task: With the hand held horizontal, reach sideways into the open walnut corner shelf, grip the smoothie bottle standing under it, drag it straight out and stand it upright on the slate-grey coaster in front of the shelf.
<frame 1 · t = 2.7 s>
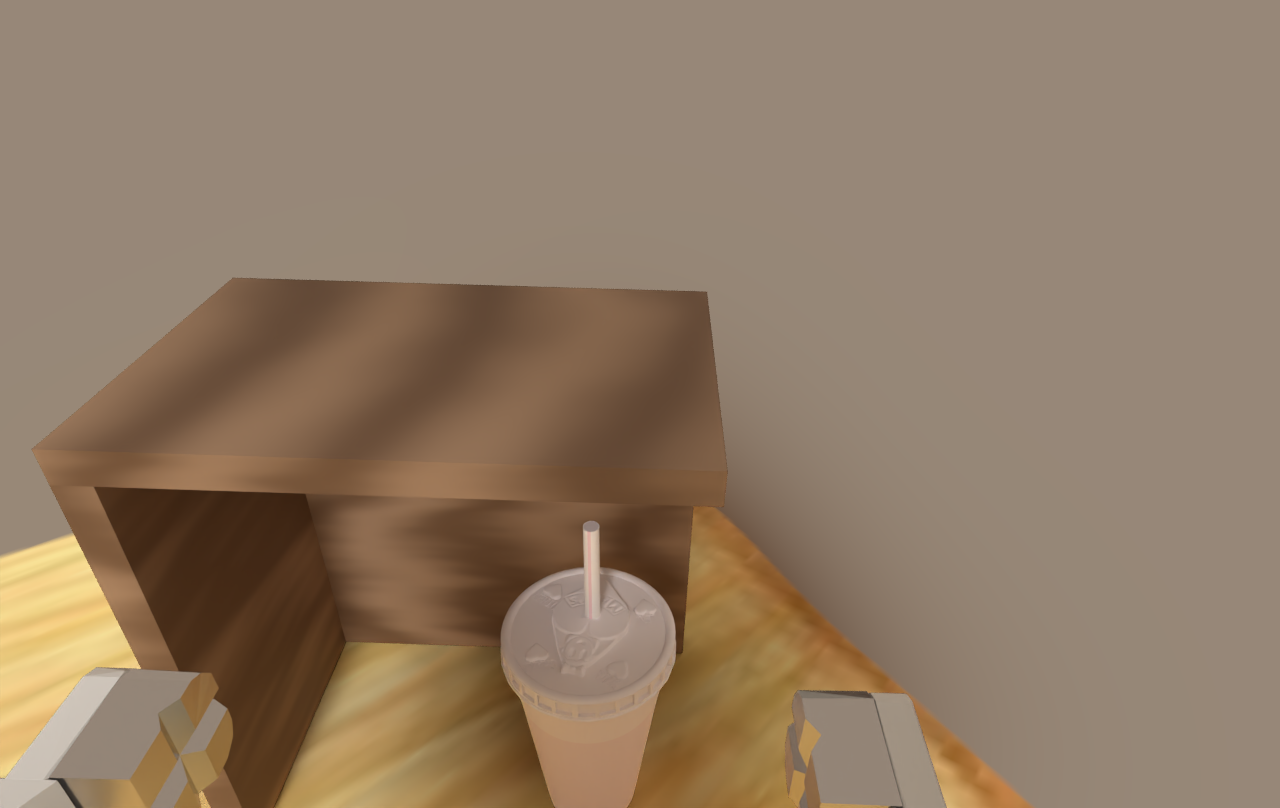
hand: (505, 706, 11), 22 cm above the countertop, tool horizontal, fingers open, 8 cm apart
shelf: (595, 740, 35), on the countertop
smoothie: (592, 785, 33), on the countertop
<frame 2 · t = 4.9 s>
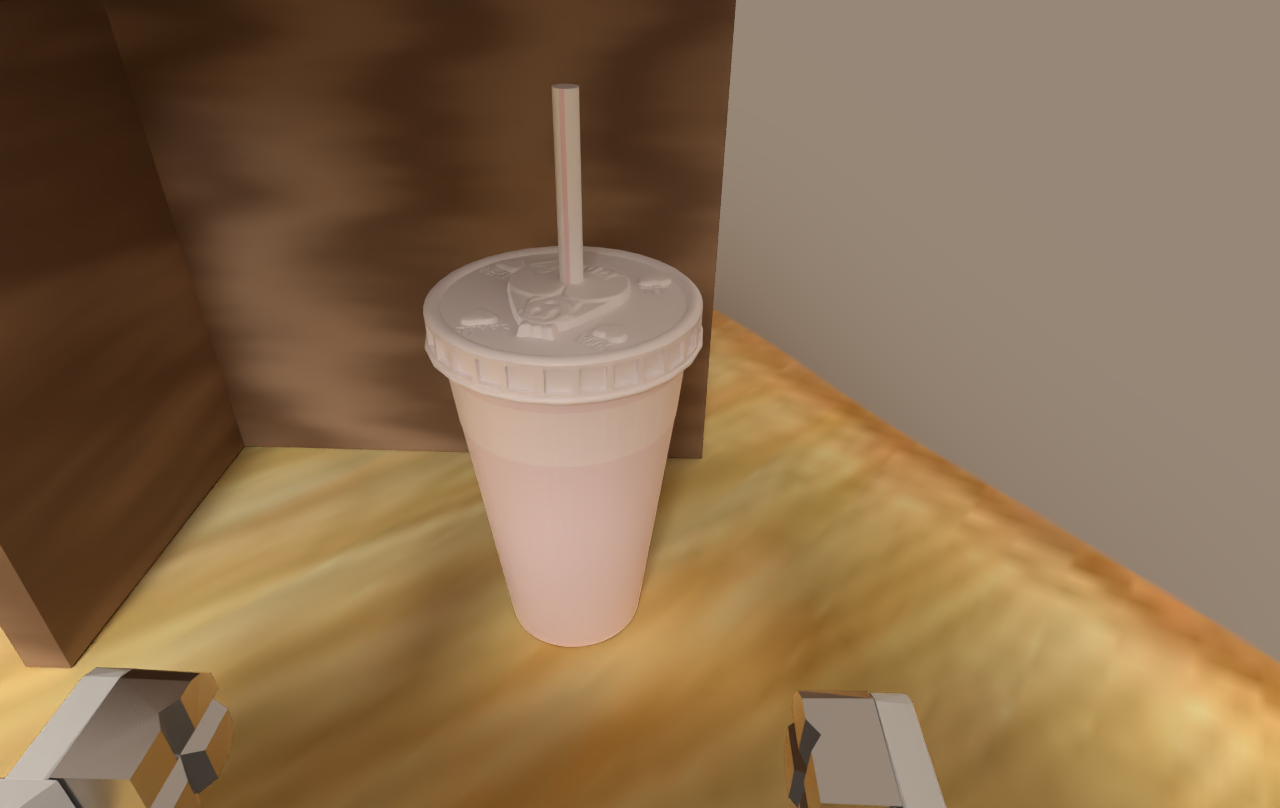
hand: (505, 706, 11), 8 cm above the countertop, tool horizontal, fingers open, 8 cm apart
shelf: (582, 549, 24), on the countertop
smoothie: (576, 601, 23), on the countertop
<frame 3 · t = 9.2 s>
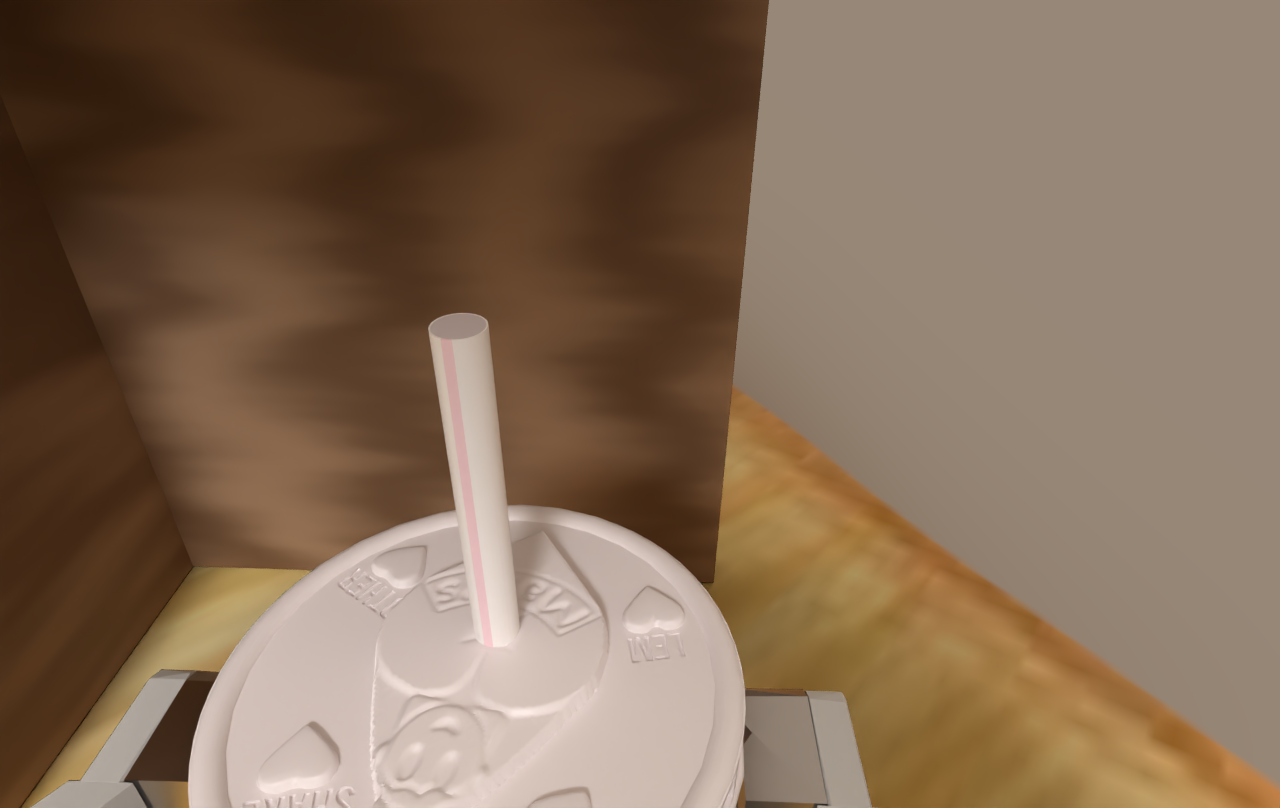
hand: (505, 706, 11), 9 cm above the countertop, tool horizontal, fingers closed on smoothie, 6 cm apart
shelf: (574, 714, 21), on the countertop
when the fingers open (9 cm above the countertop, at t = 11.5 s): smoothie stays where it is, resting on coaster.
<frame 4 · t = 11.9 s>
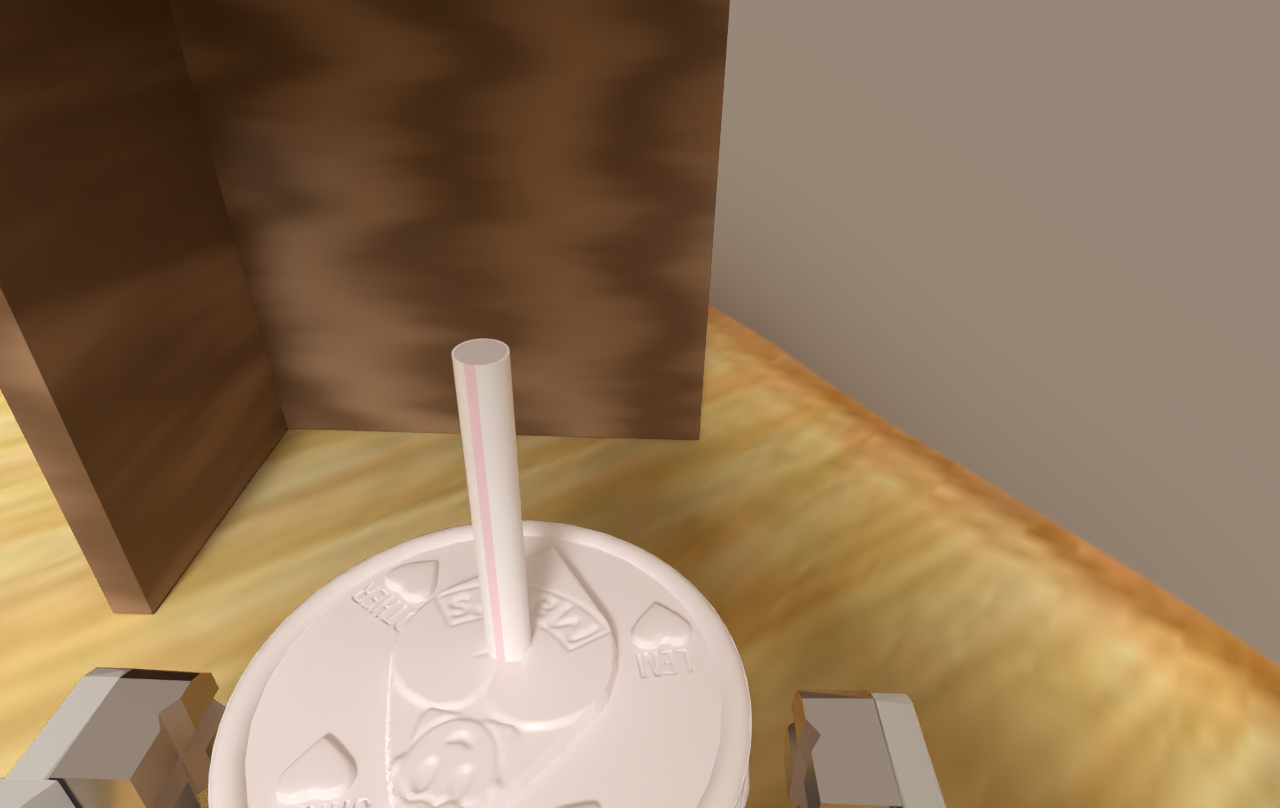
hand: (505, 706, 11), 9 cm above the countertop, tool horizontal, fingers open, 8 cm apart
shelf: (592, 517, 27), on the countertop
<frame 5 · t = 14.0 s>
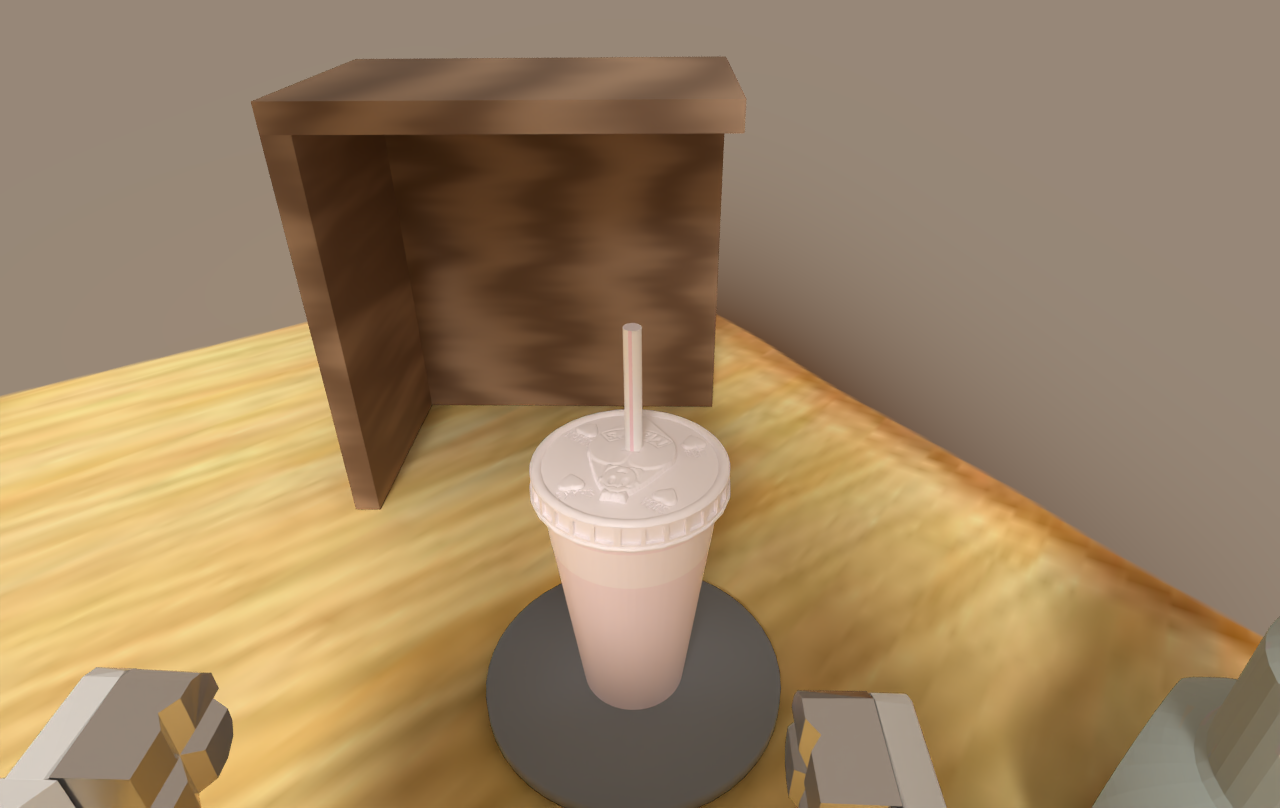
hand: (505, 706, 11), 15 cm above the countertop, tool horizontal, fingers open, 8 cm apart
shelf: (643, 453, 42), on the countertop
coaster: (633, 679, 29), on the countertop
smoothie: (633, 671, 29), resting on coaster
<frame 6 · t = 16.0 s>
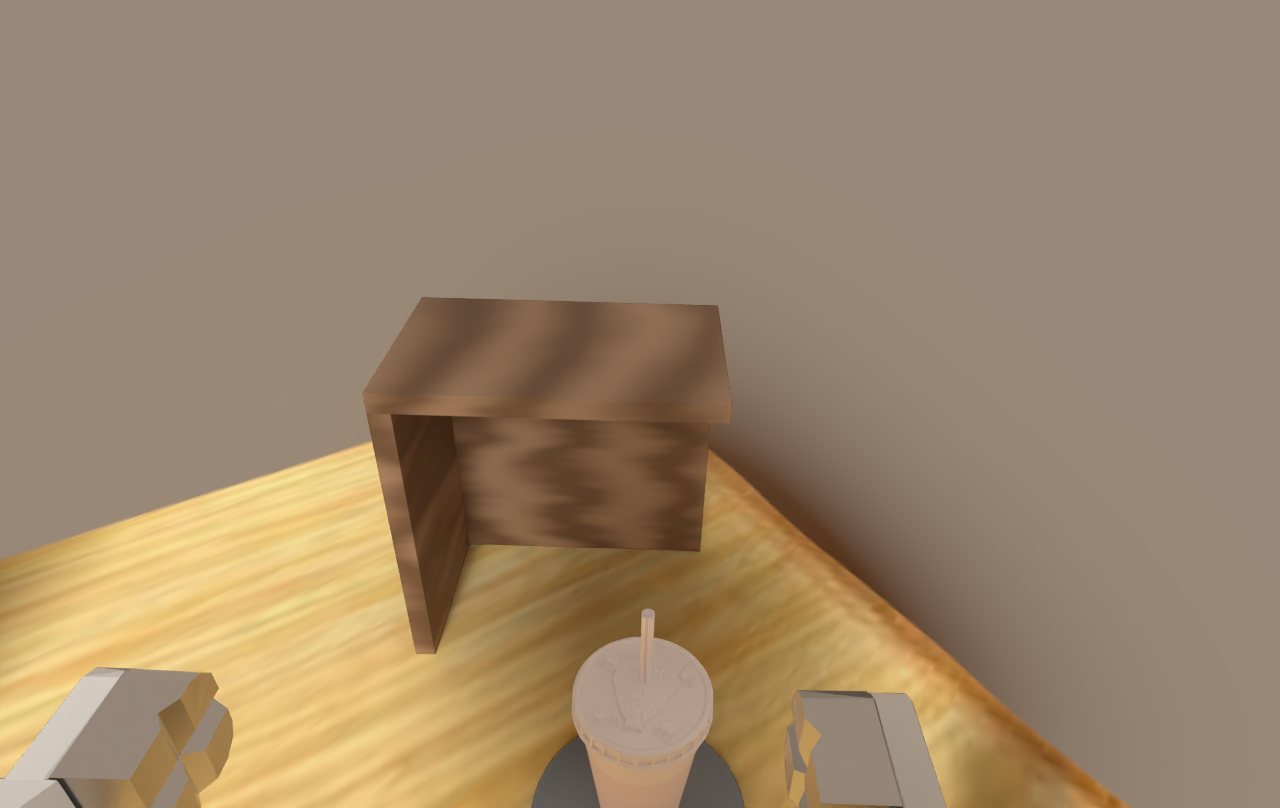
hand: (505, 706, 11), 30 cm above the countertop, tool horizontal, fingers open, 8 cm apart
shelf: (643, 600, 52), on the countertop
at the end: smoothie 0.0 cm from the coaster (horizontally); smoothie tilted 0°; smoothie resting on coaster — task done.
